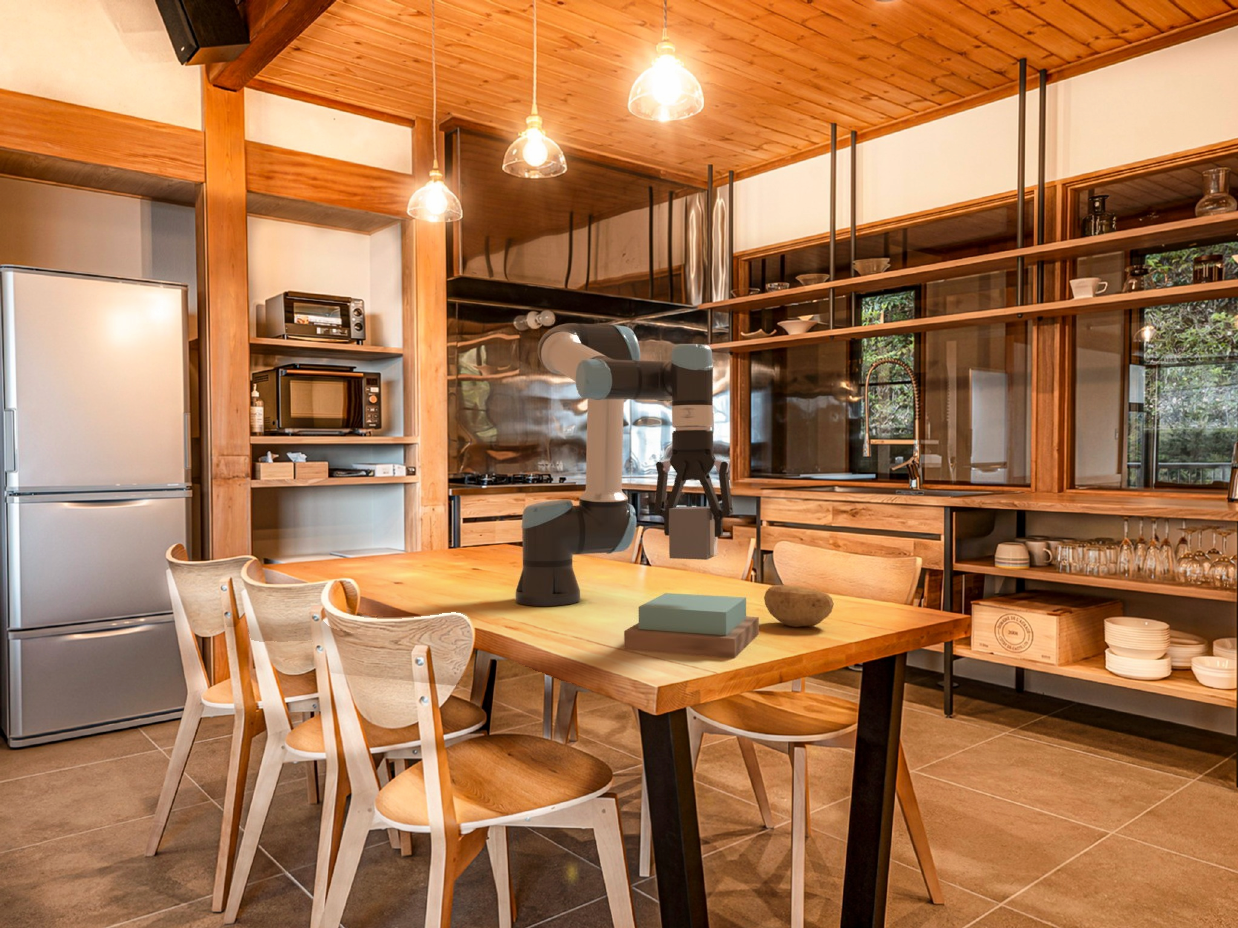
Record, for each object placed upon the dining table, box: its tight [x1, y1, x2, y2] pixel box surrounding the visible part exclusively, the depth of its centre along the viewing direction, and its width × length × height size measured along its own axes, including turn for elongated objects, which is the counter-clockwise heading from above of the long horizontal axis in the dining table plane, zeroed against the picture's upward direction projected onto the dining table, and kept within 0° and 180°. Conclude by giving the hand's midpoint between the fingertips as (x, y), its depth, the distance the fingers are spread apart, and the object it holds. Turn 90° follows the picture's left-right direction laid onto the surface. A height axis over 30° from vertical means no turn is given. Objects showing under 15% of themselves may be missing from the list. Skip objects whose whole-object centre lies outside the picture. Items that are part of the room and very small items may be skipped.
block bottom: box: [623, 615, 760, 659], centre depth 161 cm, size 20×20×4 cm
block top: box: [638, 592, 747, 635], centre depth 161 cm, size 16×16×4 cm
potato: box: [763, 584, 834, 628], centre depth 174 cm, size 10×14×8 cm
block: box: [668, 505, 717, 561], centre depth 161 cm, size 7×7×9 cm
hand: (693, 553), depth 161 cm, fingers closed on block, 7 cm apart
